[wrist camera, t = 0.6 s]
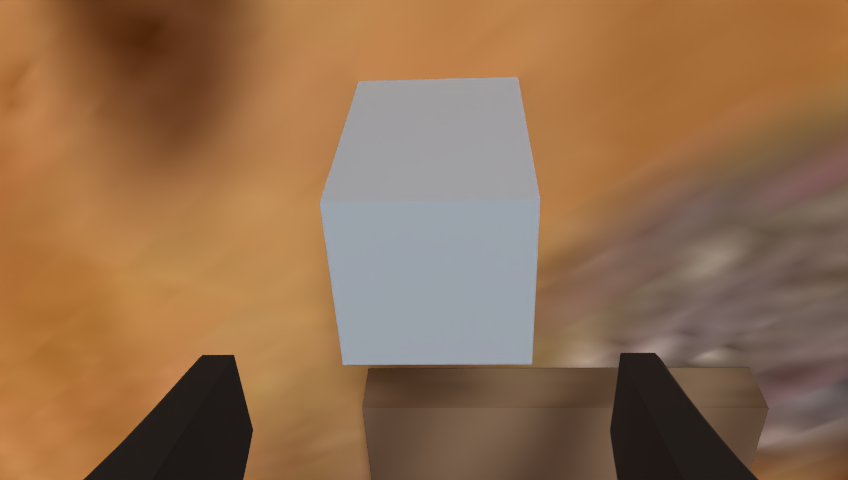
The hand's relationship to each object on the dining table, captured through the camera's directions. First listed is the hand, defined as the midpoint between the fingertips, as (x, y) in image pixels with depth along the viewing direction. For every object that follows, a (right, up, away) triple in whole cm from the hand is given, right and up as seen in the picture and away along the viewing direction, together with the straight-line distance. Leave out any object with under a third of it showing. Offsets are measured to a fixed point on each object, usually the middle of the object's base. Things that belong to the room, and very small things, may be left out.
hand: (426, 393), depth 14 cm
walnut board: (+5, -8, +17) cm, 19 cm away
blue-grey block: (0, +6, +9) cm, 10 cm away
